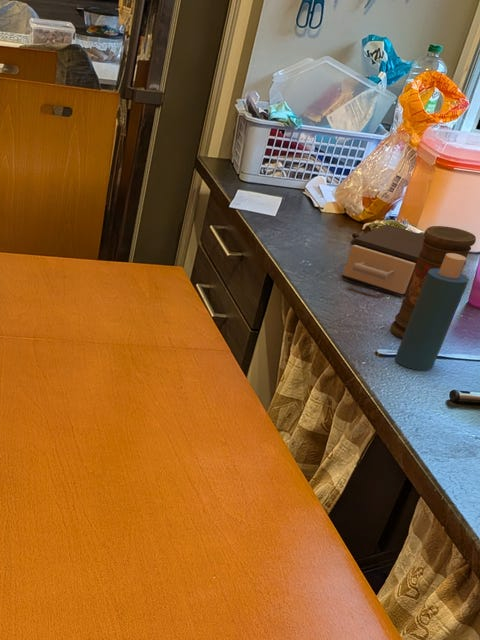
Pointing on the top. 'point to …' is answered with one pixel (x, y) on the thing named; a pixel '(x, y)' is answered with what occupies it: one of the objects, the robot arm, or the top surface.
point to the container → (431, 266)
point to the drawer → (379, 268)
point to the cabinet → (392, 246)
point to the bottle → (433, 314)
